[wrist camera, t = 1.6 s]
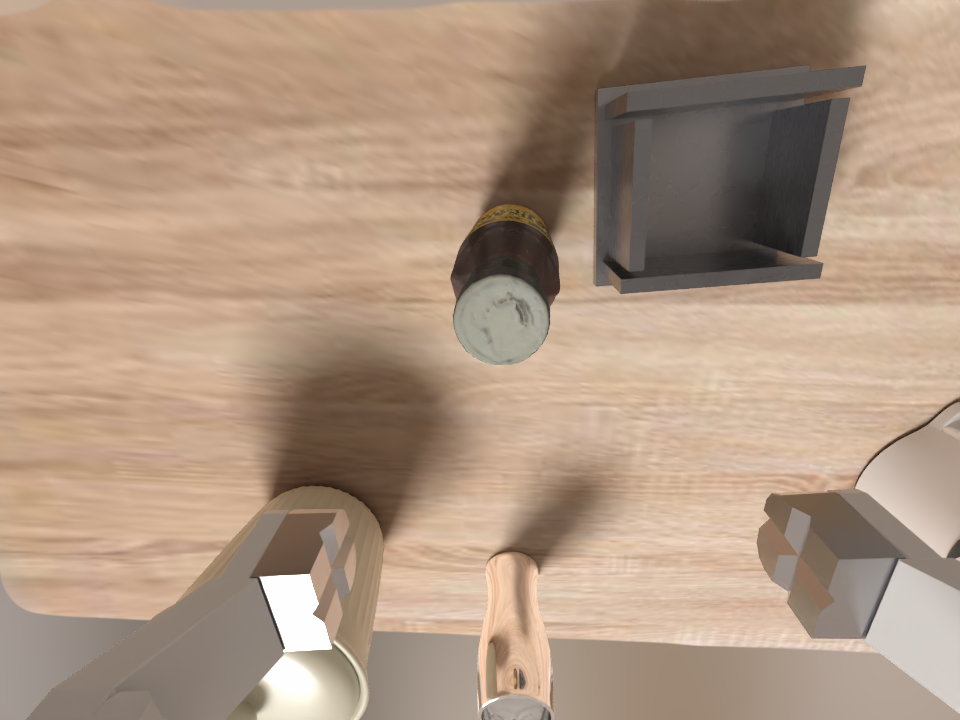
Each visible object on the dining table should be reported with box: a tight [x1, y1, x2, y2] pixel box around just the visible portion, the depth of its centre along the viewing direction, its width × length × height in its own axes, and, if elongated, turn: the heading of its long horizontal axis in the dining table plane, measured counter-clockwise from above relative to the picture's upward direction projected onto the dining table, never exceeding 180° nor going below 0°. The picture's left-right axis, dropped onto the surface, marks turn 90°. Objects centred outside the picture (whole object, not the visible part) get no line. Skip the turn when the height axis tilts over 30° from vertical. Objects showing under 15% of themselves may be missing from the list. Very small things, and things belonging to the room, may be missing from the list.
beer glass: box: [477, 552, 555, 720], centre depth 44 cm, size 7×7×15 cm
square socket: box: [593, 65, 866, 294], centre depth 31 cm, size 14×14×7 cm
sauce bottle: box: [451, 204, 560, 365], centre depth 27 cm, size 6×6×20 cm
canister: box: [149, 485, 384, 720], centre depth 40 cm, size 18×18×21 cm
